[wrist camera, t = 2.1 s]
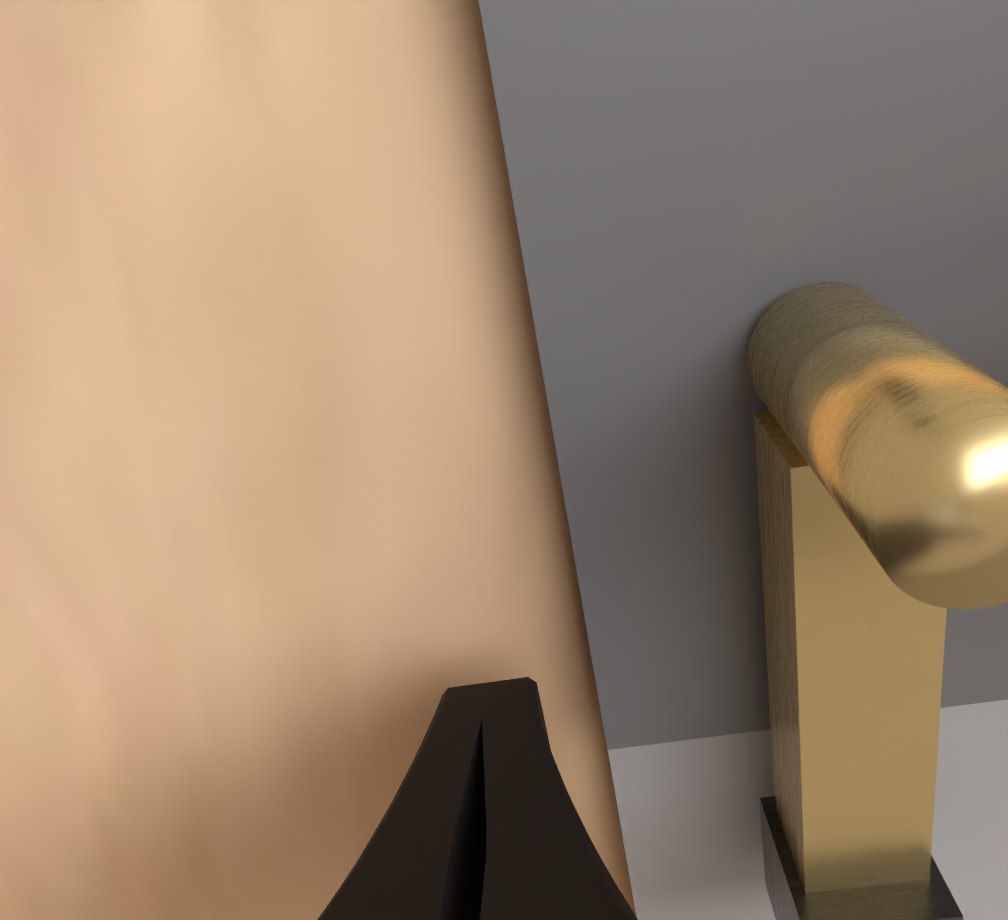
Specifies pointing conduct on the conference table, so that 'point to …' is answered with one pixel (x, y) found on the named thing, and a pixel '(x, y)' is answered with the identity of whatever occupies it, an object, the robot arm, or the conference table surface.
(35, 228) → the conference table surface
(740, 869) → the felt pad
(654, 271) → the base plate
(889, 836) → the l-shaped bracket
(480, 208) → the conference table surface
